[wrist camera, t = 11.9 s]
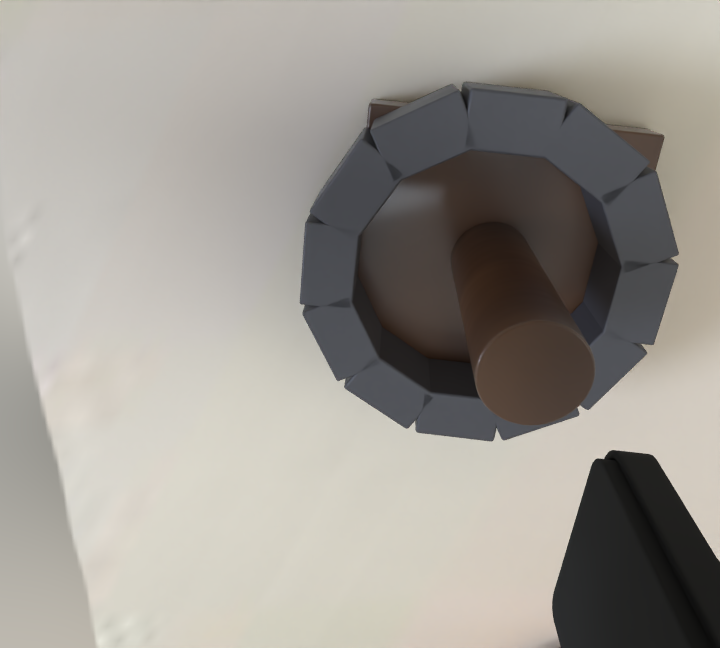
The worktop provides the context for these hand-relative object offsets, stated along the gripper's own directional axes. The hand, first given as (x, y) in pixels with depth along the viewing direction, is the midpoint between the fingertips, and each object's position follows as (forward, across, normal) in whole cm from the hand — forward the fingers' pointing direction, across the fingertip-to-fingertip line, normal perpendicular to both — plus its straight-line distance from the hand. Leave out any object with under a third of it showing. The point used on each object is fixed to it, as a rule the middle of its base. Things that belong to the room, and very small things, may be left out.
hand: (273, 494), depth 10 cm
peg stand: (+14, -5, 0) cm, 15 cm away
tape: (+13, -4, 0) cm, 14 cm away
